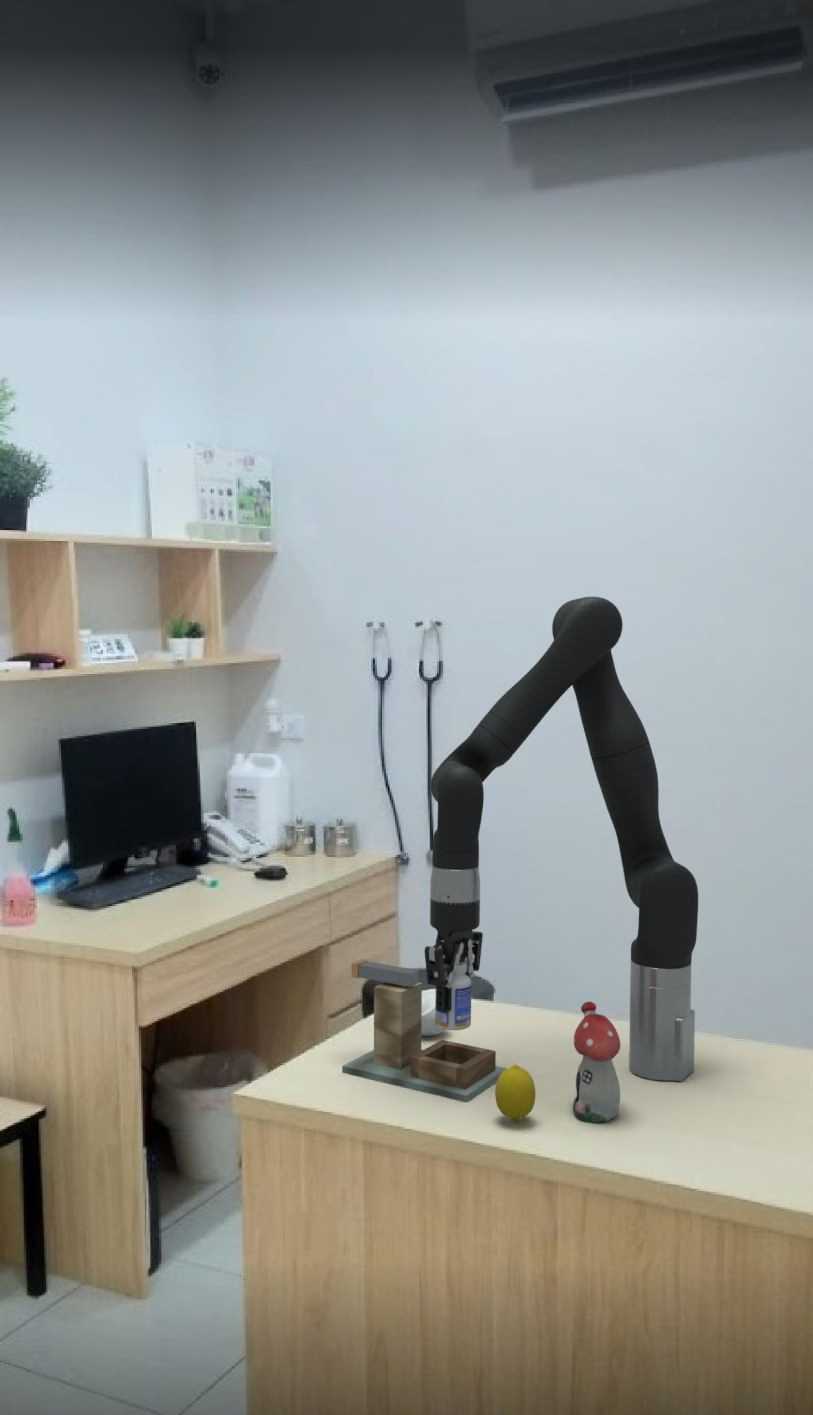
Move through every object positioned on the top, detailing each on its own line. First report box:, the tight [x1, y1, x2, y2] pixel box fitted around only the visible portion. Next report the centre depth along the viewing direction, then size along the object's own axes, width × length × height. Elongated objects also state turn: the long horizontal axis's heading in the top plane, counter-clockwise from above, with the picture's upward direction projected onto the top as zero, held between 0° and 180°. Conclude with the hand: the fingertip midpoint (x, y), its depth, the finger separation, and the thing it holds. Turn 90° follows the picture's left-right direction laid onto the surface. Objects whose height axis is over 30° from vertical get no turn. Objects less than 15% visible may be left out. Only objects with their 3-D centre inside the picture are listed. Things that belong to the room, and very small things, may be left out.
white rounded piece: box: [421, 988, 445, 1037], centre depth 194 cm, size 8×8×8 cm
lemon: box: [494, 1064, 536, 1123], centre depth 158 cm, size 6×6×8 cm
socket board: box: [341, 982, 508, 1103], centre depth 176 cm, size 22×13×13 cm, turn 58°
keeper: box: [351, 959, 420, 987], centre depth 179 cm, size 11×3×2 cm, turn 58°
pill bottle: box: [435, 961, 472, 1031], centre depth 173 cm, size 5×5×10 cm
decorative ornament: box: [572, 1001, 621, 1124], centre depth 161 cm, size 9×6×15 cm
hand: (453, 1005), depth 173 cm, fingers closed on pill bottle, 5 cm apart
